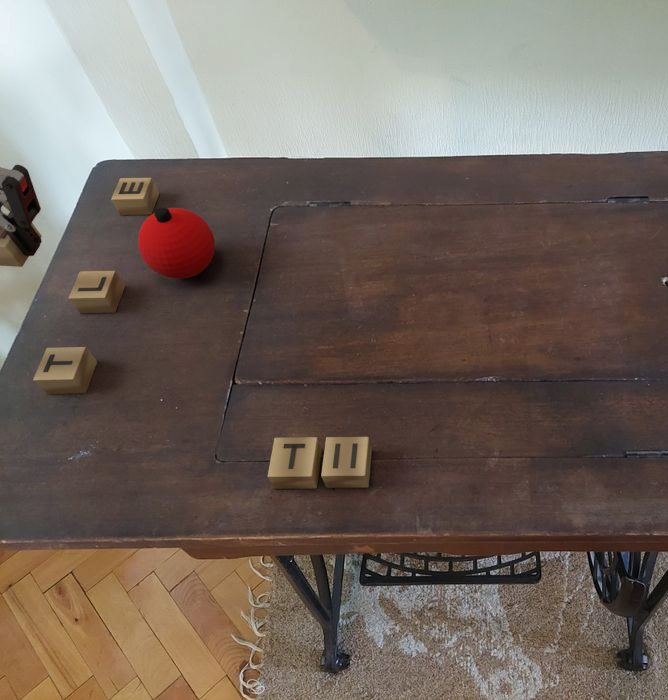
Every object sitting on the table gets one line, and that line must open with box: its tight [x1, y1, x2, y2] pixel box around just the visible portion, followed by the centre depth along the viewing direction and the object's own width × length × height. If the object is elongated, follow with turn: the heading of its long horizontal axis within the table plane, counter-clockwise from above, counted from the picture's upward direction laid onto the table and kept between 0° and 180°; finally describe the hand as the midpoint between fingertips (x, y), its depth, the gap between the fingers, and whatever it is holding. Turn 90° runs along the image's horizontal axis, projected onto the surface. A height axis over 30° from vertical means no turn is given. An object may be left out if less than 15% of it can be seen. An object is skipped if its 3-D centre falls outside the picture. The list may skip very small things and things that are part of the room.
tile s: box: [0, 213, 43, 268], centre depth 67 cm, size 4×4×3 cm
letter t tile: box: [32, 346, 98, 395], centre depth 75 cm, size 4×4×3 cm
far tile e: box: [110, 177, 160, 216], centre depth 93 cm, size 4×4×3 cm
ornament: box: [137, 207, 216, 280], centre depth 83 cm, size 9×9×10 cm
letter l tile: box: [68, 270, 126, 314], centre depth 82 cm, size 4×4×3 cm
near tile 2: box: [267, 436, 323, 490], centre depth 68 cm, size 4×4×3 cm
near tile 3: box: [321, 436, 373, 489], centre depth 69 cm, size 4×4×3 cm
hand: (10, 248), depth 68 cm, fingers closed on tile s, 4 cm apart
